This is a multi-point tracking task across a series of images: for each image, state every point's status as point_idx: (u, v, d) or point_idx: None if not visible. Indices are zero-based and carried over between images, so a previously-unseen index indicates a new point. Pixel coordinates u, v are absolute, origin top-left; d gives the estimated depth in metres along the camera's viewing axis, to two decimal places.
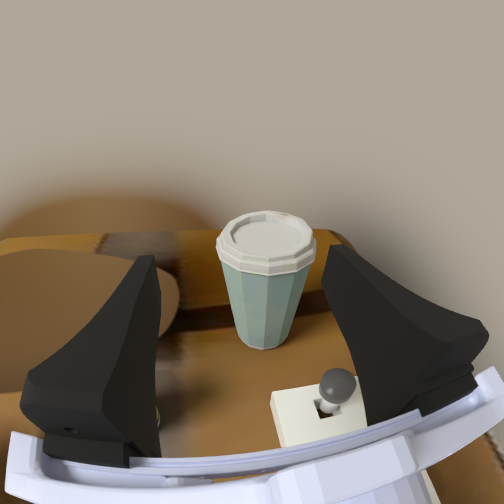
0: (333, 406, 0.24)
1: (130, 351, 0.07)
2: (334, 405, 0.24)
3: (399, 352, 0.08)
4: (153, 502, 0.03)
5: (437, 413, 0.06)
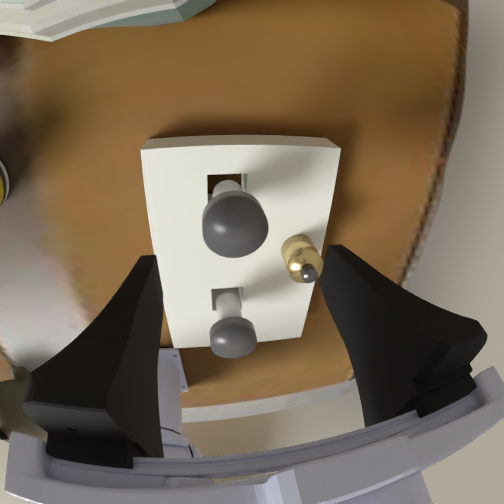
0: None
1: (133, 351, 0.07)
2: None
3: (397, 353, 0.08)
4: (153, 502, 0.03)
5: (437, 413, 0.06)
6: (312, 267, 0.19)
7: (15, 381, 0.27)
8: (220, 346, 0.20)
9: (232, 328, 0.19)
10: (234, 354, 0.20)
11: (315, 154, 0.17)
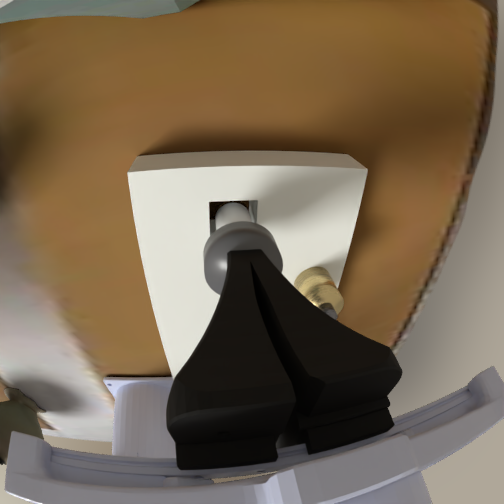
0: None
1: None
2: None
3: None
4: (153, 502, 0.03)
5: (437, 413, 0.06)
6: (331, 307, 0.16)
7: (10, 403, 0.24)
8: None
9: None
10: None
11: (338, 176, 0.15)
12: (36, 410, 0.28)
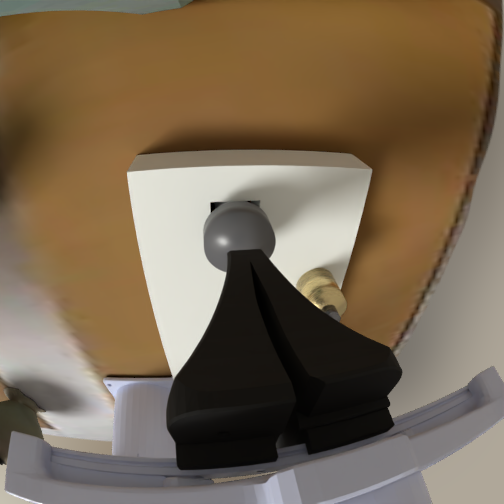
0: None
1: None
2: None
3: None
4: (154, 502, 0.03)
5: (437, 413, 0.06)
6: (334, 309, 0.16)
7: (9, 403, 0.24)
8: None
9: None
10: None
11: (342, 176, 0.14)
12: (36, 410, 0.28)
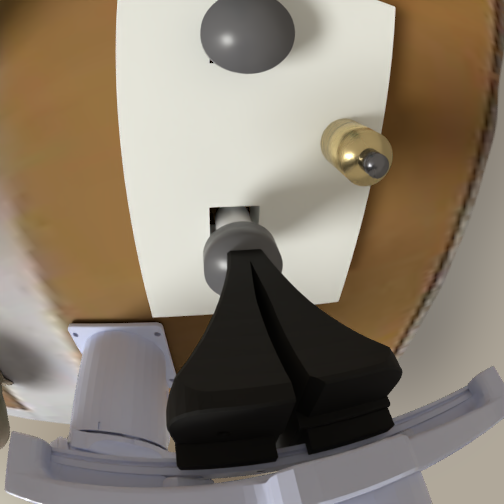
0: None
1: None
2: None
3: None
4: (154, 502, 0.03)
5: (437, 413, 0.06)
6: (379, 152, 0.10)
7: None
8: (219, 271, 0.12)
9: (242, 234, 0.11)
10: None
11: (364, 5, 0.09)
12: (1, 379, 0.22)
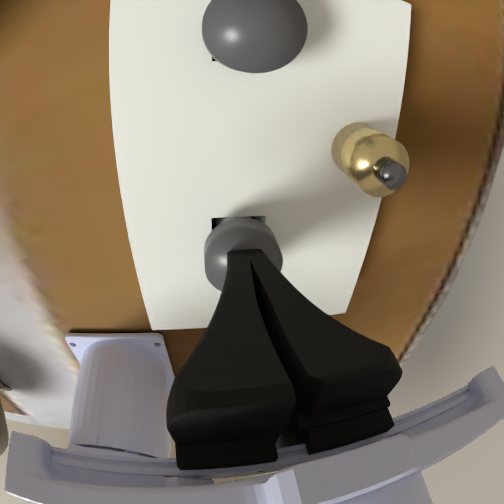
0: None
1: None
2: None
3: None
4: (153, 502, 0.03)
5: (437, 413, 0.06)
6: (396, 161, 0.10)
7: None
8: (220, 267, 0.12)
9: (242, 231, 0.11)
10: None
11: (379, 1, 0.08)
12: None
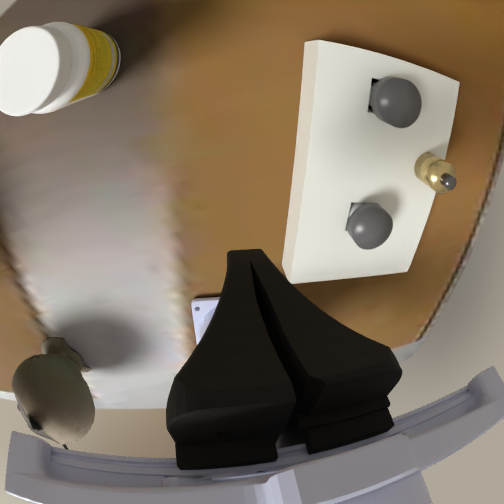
0: None
1: None
2: None
3: None
4: (154, 503, 0.03)
5: (437, 413, 0.06)
6: (451, 175, 0.17)
7: (52, 355, 0.25)
8: (362, 230, 0.20)
9: (377, 209, 0.19)
10: (370, 244, 0.20)
11: (444, 82, 0.16)
12: (81, 366, 0.29)
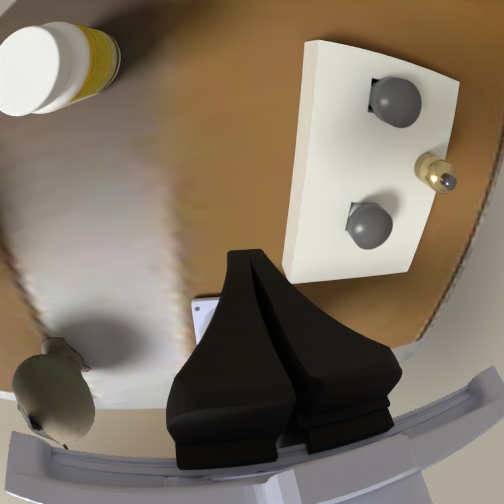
0: None
1: None
2: None
3: None
4: (154, 503, 0.03)
5: (437, 413, 0.06)
6: (451, 175, 0.17)
7: (52, 355, 0.25)
8: (362, 230, 0.20)
9: (377, 209, 0.19)
10: (370, 244, 0.20)
11: (444, 82, 0.16)
12: (81, 366, 0.29)
